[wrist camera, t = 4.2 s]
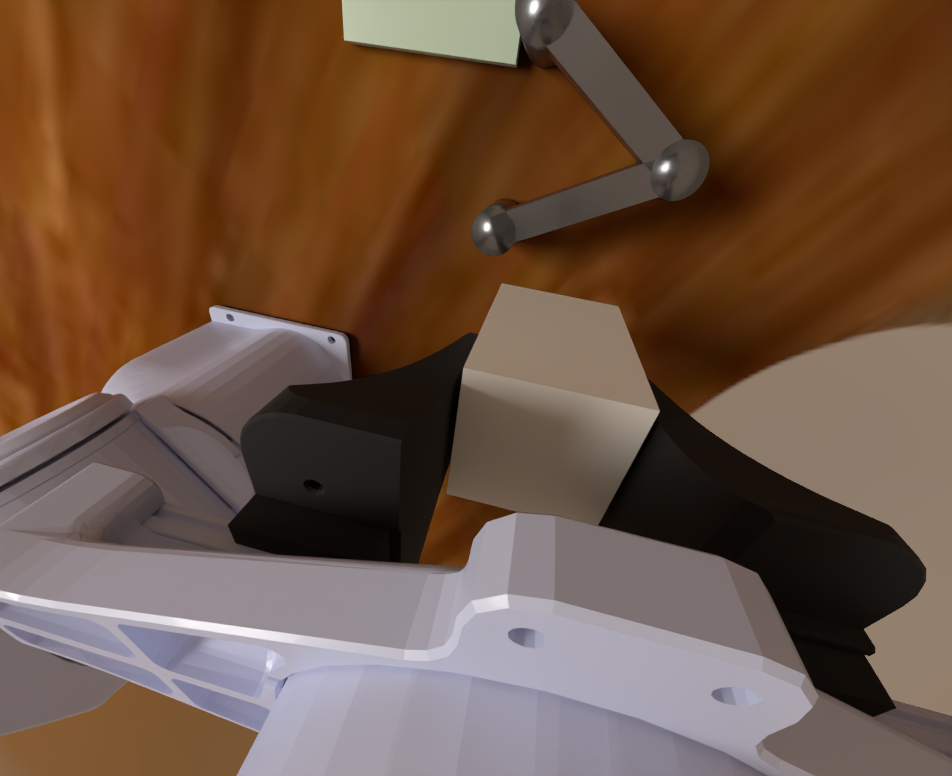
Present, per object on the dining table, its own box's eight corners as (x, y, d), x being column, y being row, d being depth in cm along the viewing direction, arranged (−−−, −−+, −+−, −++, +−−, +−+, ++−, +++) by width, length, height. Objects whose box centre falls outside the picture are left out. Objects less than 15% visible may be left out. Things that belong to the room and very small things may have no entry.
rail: (483, 235, 18) (469, 251, 15) (516, -2, 13) (504, -46, 10) (641, 265, 17) (657, 287, 14) (735, 25, 12) (788, -13, 10)
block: (484, 379, 15) (446, 493, 10) (501, 283, 12) (463, 367, 7) (582, 401, 14) (594, 531, 9) (618, 306, 12) (660, 411, 7)
